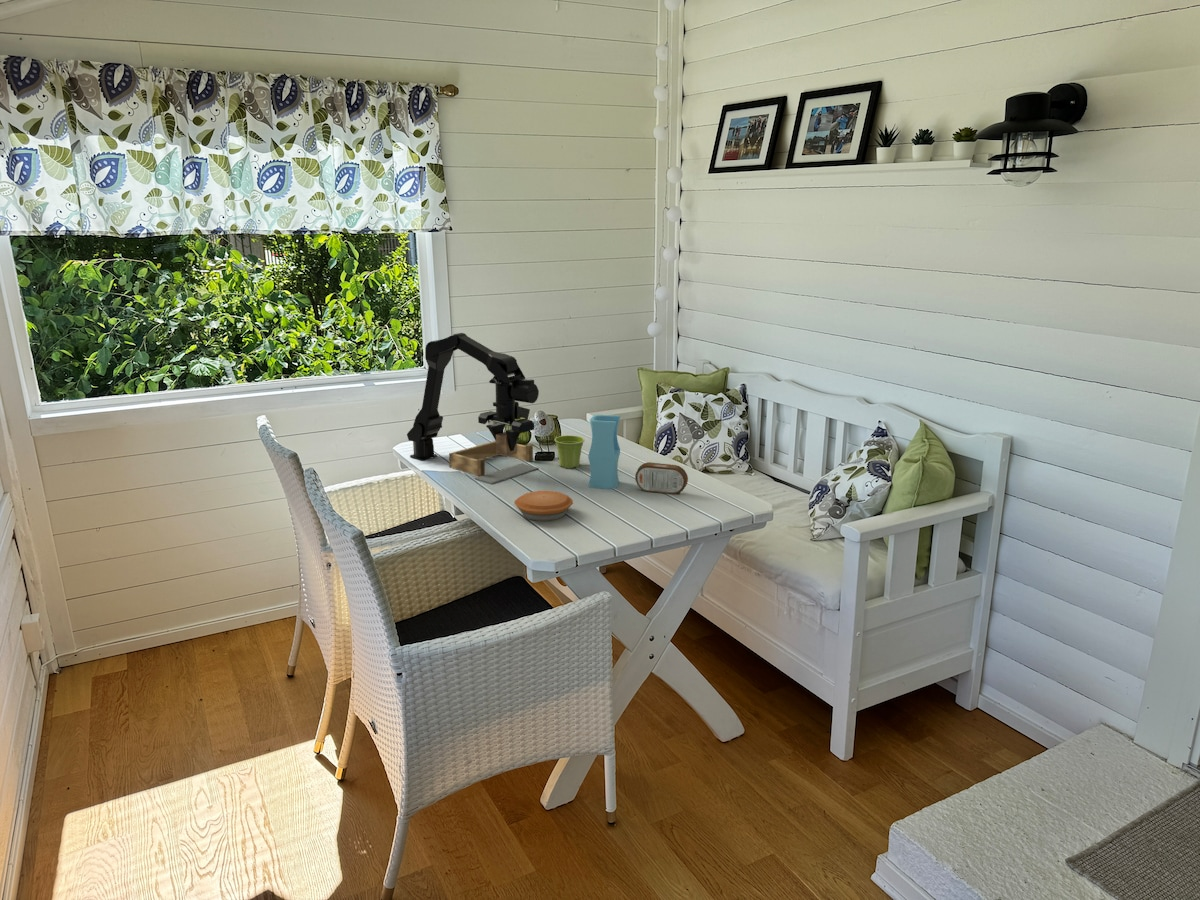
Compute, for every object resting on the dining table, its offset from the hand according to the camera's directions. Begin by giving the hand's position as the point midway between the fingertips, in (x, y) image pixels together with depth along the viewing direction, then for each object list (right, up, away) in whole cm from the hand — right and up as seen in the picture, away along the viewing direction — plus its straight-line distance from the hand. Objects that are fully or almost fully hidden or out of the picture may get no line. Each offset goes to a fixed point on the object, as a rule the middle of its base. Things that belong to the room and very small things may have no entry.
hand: (506, 449), depth 266 cm
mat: (0, -8, +2) cm, 8 cm away
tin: (+46, -13, -13) cm, 49 cm away
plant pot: (+19, -5, +11) cm, 22 cm away
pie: (+13, -18, -31) cm, 38 cm away
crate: (-6, -5, +12) cm, 14 cm away
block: (0, -1, 0) cm, 1 cm away
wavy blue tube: (+30, -10, -7) cm, 32 cm away
